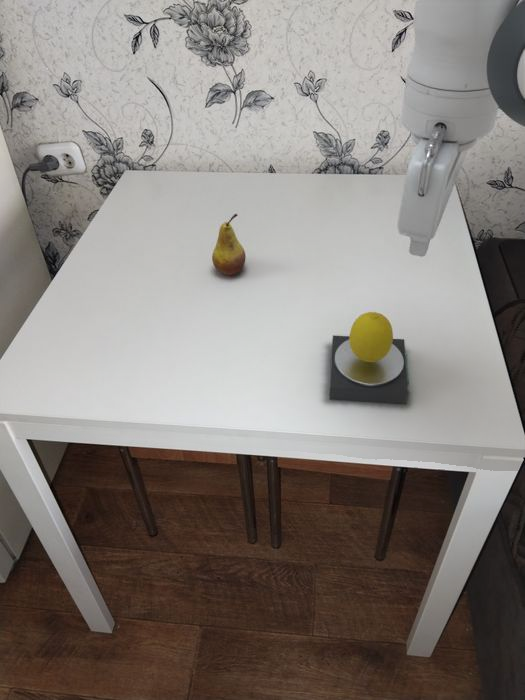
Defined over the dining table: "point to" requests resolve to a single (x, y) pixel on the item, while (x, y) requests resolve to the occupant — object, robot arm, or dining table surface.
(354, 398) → the scale
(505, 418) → the dining table surface
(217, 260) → the fruit
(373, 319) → the lemon
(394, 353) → the scale pan
